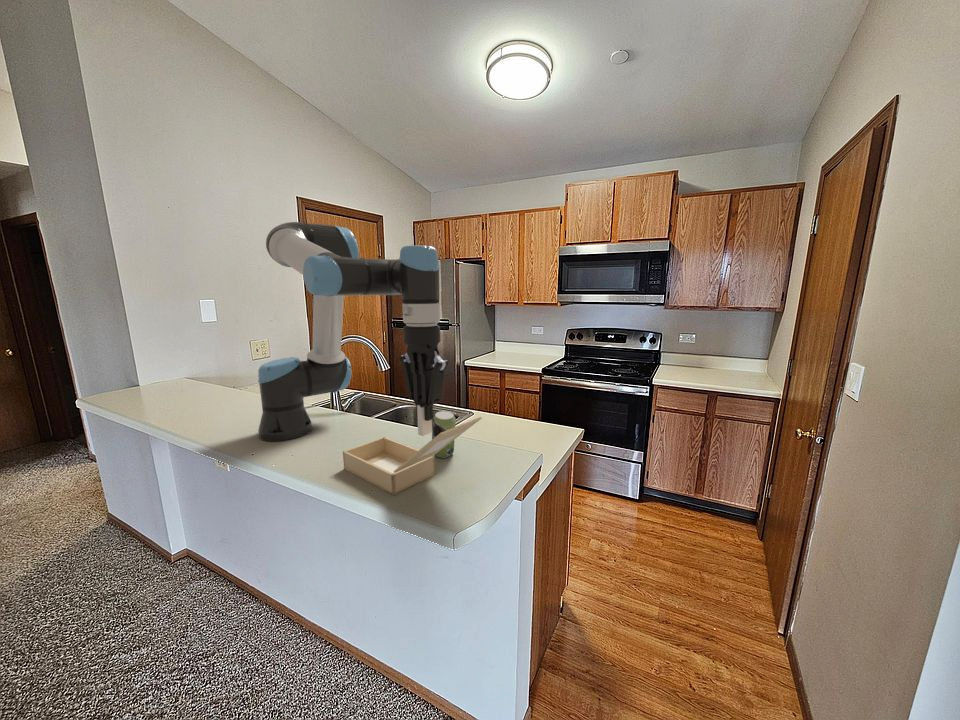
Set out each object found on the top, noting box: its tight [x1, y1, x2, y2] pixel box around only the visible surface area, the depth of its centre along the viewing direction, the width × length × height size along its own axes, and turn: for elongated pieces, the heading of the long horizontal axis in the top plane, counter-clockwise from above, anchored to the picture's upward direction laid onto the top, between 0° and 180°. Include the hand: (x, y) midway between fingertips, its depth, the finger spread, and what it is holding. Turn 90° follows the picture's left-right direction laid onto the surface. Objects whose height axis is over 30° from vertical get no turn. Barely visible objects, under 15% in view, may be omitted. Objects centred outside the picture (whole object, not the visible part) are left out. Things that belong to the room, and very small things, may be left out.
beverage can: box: [431, 410, 457, 459], centre depth 100 cm, size 6×7×12 cm
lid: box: [394, 416, 483, 473], centre depth 80 cm, size 19×12×1 cm
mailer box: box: [342, 436, 436, 496], centre depth 92 cm, size 20×12×5 cm, turn 50°
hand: (425, 433), depth 82 cm, fingers closed
